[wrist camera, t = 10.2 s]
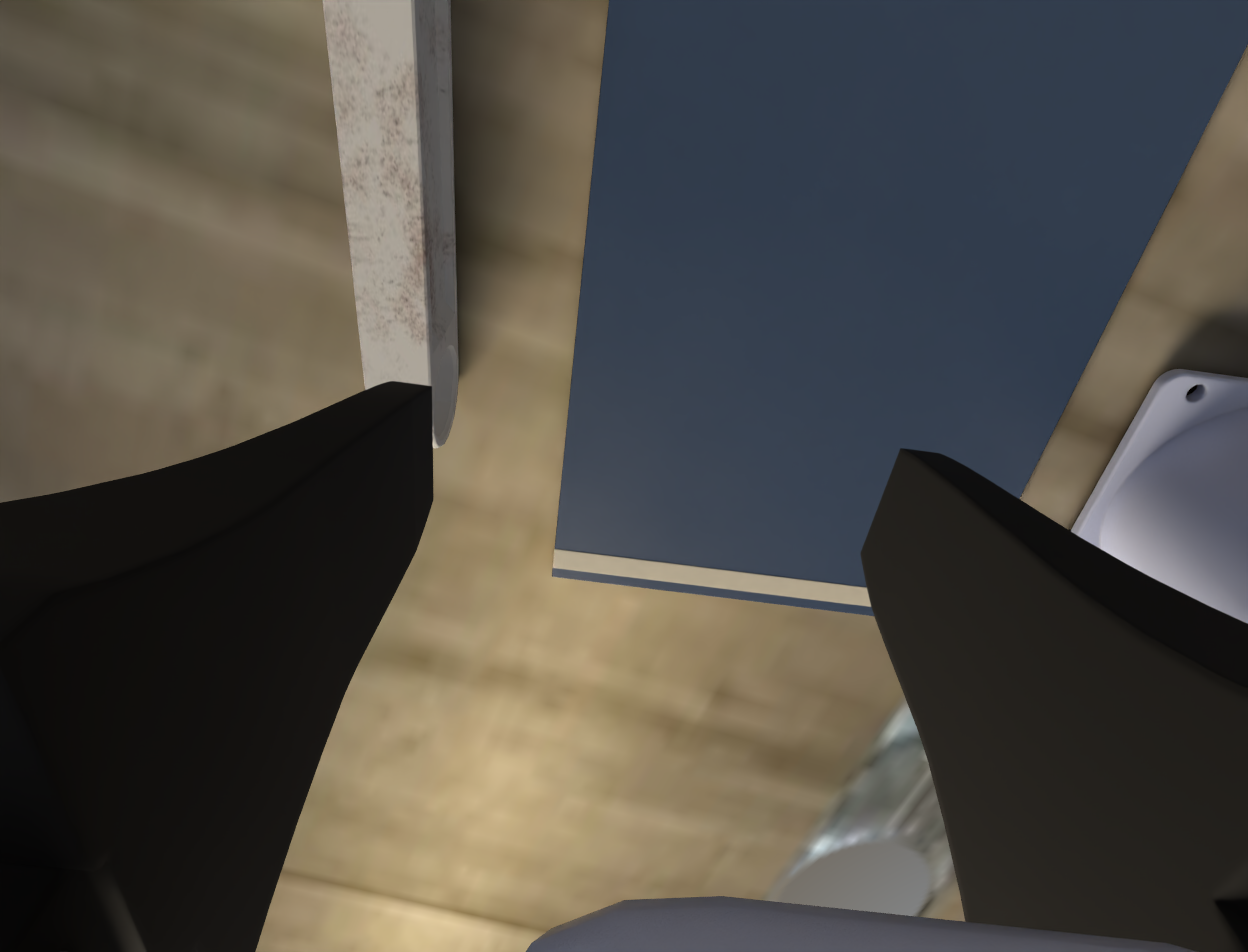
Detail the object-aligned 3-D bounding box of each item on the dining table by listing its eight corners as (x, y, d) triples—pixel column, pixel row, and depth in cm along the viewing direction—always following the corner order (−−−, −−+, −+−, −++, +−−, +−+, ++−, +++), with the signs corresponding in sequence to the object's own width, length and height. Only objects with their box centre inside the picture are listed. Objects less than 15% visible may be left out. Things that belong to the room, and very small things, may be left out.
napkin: (2205, -1888, 7) (2249, -1942, 7) (953, 622, 25) (955, 626, 25) (836, -2279, 7) (842, -2347, 6) (552, 573, 24) (551, 577, 24)
